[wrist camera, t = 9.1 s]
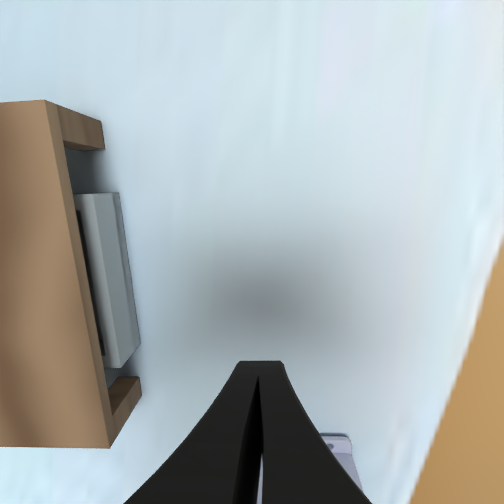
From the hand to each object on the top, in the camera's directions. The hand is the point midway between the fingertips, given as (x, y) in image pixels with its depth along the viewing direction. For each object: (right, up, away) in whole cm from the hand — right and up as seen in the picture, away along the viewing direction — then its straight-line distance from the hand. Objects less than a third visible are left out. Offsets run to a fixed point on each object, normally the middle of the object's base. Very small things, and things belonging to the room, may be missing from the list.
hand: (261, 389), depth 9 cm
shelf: (-13, +3, +10) cm, 16 cm away
